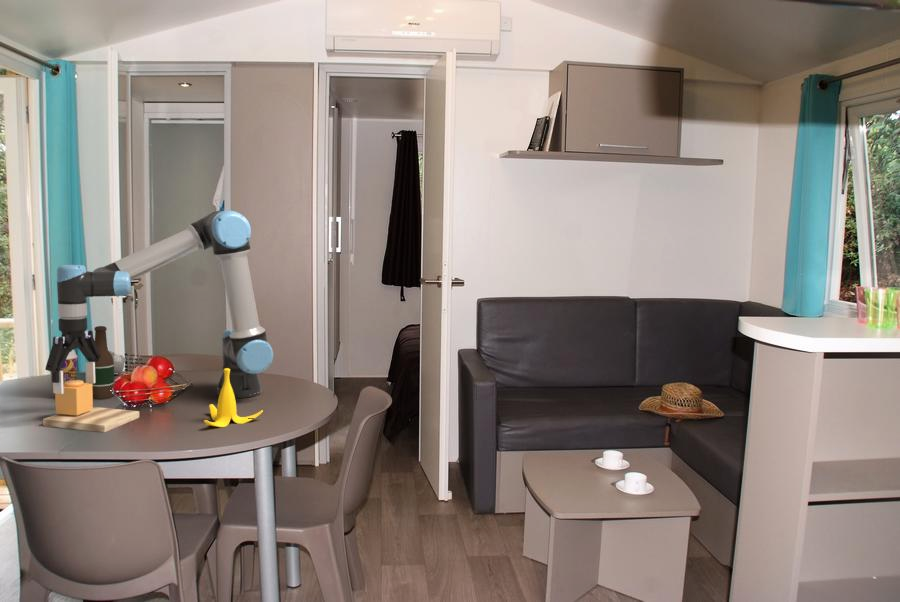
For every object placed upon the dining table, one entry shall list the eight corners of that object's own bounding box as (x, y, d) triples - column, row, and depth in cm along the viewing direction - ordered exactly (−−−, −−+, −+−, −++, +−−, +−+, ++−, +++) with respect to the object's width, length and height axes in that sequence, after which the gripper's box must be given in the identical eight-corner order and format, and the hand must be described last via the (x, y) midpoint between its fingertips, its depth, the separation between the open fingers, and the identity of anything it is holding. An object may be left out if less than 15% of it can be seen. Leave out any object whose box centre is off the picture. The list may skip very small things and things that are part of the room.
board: (139, 417, 218) (139, 388, 217) (104, 432, 203) (104, 401, 202) (81, 411, 222) (81, 383, 221) (43, 425, 206) (42, 395, 205)
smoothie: (77, 399, 237) (75, 339, 235) (48, 400, 234) (46, 340, 231) (79, 393, 244) (78, 335, 242) (52, 394, 241) (50, 336, 239)
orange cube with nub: (92, 409, 216) (92, 380, 215) (76, 415, 209) (76, 385, 208) (72, 407, 217) (71, 378, 216) (55, 413, 210) (55, 383, 209)
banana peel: (211, 414, 226) (211, 362, 224) (264, 420, 221) (265, 367, 219) (177, 428, 210) (177, 372, 208) (234, 435, 205) (234, 378, 203)
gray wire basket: (85, 378, 267) (84, 352, 266) (103, 372, 278) (102, 347, 277) (152, 382, 264) (152, 356, 263) (167, 376, 275) (167, 351, 274)
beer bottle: (90, 394, 243) (88, 325, 240) (115, 393, 246) (114, 324, 243) (87, 400, 236) (86, 328, 233) (113, 399, 239) (112, 328, 236)
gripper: (90, 311, 223) (92, 378, 225) (29, 322, 199) (32, 396, 201) (111, 312, 222) (113, 379, 224) (52, 324, 197) (55, 398, 200)
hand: (75, 388), depth 213 cm, fingers open, 13 cm apart
